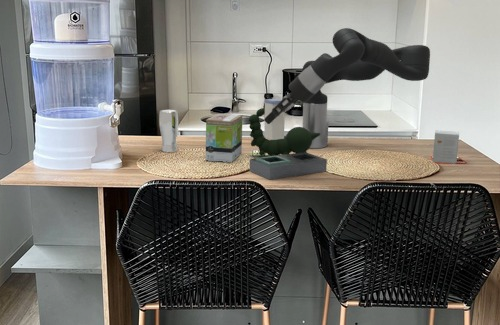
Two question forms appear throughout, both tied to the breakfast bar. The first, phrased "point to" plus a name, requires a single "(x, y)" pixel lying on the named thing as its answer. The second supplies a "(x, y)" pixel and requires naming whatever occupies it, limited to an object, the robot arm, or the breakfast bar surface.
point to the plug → (274, 121)
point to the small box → (445, 146)
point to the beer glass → (168, 130)
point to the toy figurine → (292, 142)
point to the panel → (287, 165)
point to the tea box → (223, 137)
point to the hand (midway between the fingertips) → (269, 120)
